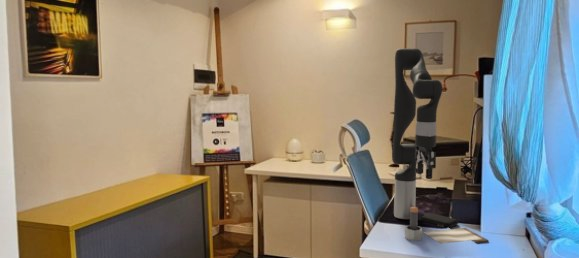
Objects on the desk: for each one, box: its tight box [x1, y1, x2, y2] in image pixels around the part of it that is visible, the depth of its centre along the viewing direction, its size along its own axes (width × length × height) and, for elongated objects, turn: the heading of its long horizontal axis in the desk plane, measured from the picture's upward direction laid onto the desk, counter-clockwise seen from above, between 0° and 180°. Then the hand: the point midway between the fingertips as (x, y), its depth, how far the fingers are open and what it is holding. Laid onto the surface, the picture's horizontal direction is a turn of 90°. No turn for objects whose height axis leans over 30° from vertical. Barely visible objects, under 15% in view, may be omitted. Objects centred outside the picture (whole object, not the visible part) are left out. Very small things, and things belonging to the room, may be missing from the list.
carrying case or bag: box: [419, 212, 459, 229], centre depth 198 cm, size 11×3×15 cm
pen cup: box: [404, 225, 423, 242], centre depth 178 cm, size 6×6×5 cm
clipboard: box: [422, 227, 489, 244], centre depth 181 cm, size 15×22×1 cm
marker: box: [409, 206, 419, 230], centre depth 177 cm, size 3×3×12 cm
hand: (424, 176), depth 174 cm, fingers open, 8 cm apart
